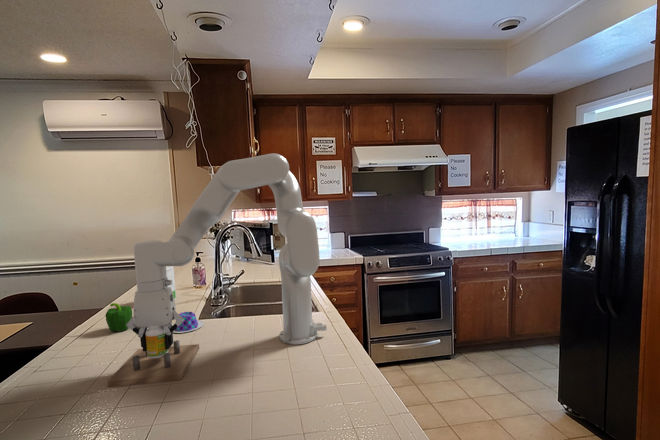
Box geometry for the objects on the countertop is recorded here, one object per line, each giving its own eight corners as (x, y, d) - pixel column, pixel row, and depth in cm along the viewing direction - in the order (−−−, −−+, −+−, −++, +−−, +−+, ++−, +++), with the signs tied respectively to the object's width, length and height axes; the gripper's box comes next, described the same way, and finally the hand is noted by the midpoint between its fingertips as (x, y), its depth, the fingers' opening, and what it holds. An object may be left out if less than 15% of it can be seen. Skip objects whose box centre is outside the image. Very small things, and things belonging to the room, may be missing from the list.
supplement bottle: (160, 359, 95) (157, 325, 94) (142, 358, 96) (139, 324, 95) (172, 350, 100) (170, 317, 99) (156, 349, 101) (153, 317, 100)
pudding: (191, 335, 119) (190, 320, 119) (160, 333, 121) (159, 319, 121) (210, 322, 131) (209, 308, 130) (182, 321, 133) (181, 307, 133)
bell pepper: (139, 325, 130) (137, 299, 129) (124, 334, 121) (121, 306, 121) (118, 324, 130) (116, 299, 130) (101, 334, 122) (99, 306, 121)
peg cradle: (199, 348, 108) (198, 333, 108) (181, 379, 90) (180, 361, 90) (138, 353, 106) (137, 338, 105) (108, 386, 88) (106, 367, 88)
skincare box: (168, 304, 153) (165, 269, 152) (153, 304, 153) (150, 270, 152) (176, 298, 161) (174, 265, 160) (162, 298, 161) (160, 266, 160)
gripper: (188, 279, 101) (192, 339, 102) (126, 283, 99) (131, 345, 100) (180, 287, 93) (185, 351, 95) (112, 291, 91) (119, 357, 93)
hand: (157, 347), depth 98 cm, fingers closed on supplement bottle, 5 cm apart
